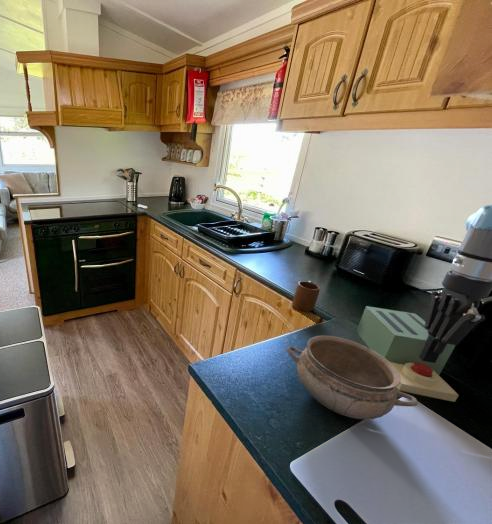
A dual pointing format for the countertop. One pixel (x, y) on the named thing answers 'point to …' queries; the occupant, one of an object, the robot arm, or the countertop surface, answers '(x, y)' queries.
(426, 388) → the box
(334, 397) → the cooking pot
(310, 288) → the mug
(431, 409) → the countertop surface
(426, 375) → the button
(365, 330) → the toaster
